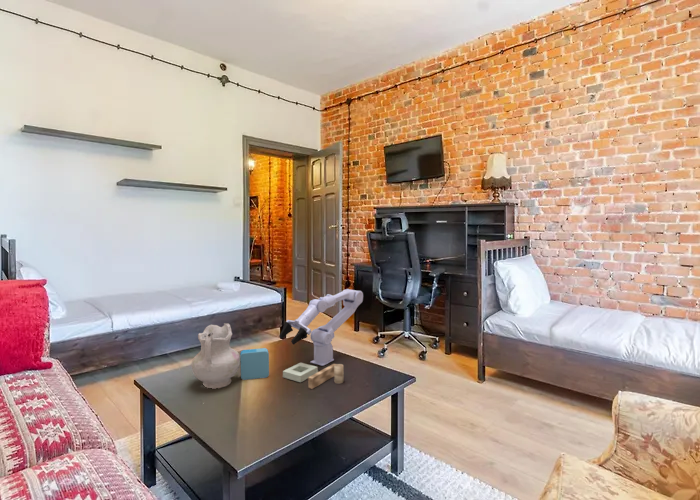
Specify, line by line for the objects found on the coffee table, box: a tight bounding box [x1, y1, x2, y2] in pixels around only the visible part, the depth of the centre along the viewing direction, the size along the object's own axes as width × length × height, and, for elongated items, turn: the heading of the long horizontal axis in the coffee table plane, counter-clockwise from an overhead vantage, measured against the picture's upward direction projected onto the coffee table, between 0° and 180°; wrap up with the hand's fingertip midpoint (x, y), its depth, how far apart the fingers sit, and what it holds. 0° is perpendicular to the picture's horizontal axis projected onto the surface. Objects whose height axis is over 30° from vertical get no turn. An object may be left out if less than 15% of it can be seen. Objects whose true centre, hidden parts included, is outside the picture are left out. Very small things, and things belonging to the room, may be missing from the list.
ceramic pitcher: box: [190, 322, 241, 390], centre depth 160 cm, size 22×20×25 cm
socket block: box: [282, 362, 319, 383], centre depth 170 cm, size 12×10×3 cm
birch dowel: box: [333, 363, 344, 385], centre depth 163 cm, size 4×4×7 cm
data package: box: [239, 347, 270, 381], centre depth 168 cm, size 12×4×12 cm, turn 106°
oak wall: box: [307, 363, 337, 390], centre depth 164 cm, size 18×2×4 cm, turn 147°
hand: (286, 340), depth 169 cm, fingers open, 7 cm apart
